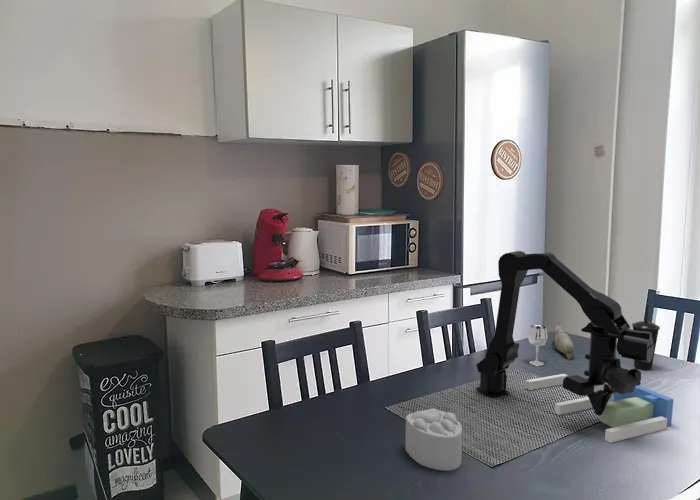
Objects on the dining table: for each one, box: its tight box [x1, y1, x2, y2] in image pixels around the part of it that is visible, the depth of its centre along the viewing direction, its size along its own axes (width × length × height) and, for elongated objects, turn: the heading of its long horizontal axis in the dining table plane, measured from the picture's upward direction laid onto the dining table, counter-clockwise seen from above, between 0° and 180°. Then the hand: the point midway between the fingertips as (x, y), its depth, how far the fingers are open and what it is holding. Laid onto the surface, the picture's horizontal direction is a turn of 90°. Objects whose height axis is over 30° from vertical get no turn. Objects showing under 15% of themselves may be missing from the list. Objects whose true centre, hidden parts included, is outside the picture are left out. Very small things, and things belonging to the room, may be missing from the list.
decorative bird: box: [551, 324, 575, 360], centre depth 185 cm, size 5×16×8 cm, turn 173°
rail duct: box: [525, 373, 674, 444], centre depth 140 cm, size 21×32×6 cm, turn 23°
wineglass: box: [527, 324, 548, 367], centre depth 173 cm, size 6×6×12 cm
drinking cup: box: [631, 304, 661, 371], centre depth 169 cm, size 8×8×20 cm
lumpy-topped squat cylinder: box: [405, 408, 463, 472], centre depth 115 cm, size 10×13×9 cm
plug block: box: [598, 397, 654, 428], centre depth 132 cm, size 12×5×4 cm, turn 111°
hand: (598, 414), depth 131 cm, fingers closed
